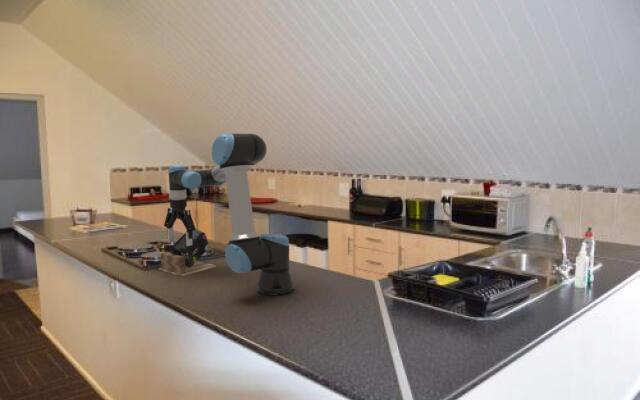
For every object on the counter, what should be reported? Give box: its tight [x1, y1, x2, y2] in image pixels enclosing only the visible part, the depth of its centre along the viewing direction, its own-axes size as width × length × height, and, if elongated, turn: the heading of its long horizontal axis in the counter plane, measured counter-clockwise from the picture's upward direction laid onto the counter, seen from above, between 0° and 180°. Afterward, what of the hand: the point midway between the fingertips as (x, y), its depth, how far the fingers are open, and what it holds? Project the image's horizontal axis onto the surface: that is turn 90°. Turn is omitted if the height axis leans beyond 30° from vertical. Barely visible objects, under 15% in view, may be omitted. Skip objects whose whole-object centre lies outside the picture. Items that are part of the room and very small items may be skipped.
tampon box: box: [171, 228, 210, 268], centre depth 236 cm, size 11×9×15 cm
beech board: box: [158, 252, 217, 277], centre depth 235 cm, size 18×20×8 cm
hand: (180, 243), depth 231 cm, fingers open, 13 cm apart
